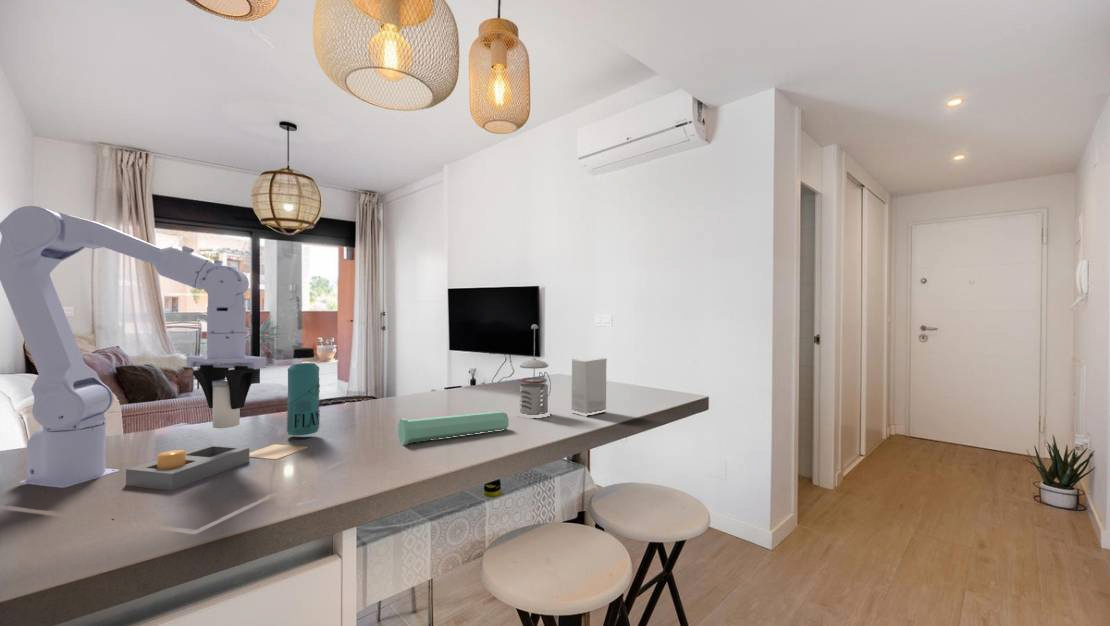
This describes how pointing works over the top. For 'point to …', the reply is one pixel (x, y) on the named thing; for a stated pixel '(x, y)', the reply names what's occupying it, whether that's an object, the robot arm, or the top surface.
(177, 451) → the orange cylinder
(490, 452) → the top surface
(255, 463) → the top surface
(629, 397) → the top surface
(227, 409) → the cartridge
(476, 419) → the container
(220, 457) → the housing
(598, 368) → the skincare box
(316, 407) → the beverage bottle
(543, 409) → the french press
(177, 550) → the top surface
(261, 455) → the mat
